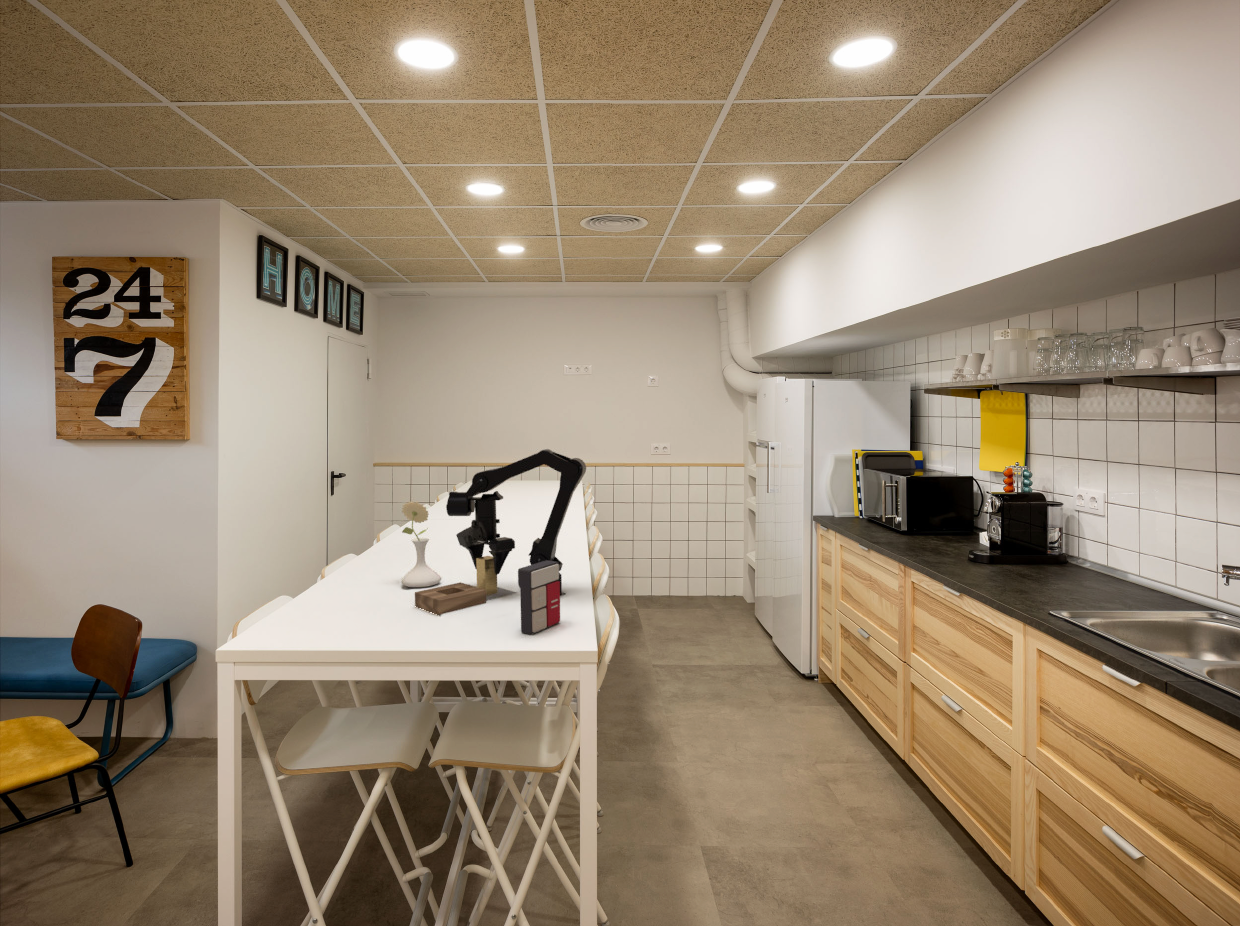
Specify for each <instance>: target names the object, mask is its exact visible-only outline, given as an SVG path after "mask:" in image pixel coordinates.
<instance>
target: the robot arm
mask: <svg viewBox="0 0 1240 926" xmlns="http://www.w3.org/2000/svg"><path fill="white" fill-rule="evenodd" d="M544 465H545V466H547V467H549V468H551V469H552V470H555V471H556V472H558V473H560V477H559V489H558V492H557V495H556V498H555V500H554V503H553V506H552V508H551V512H550V514H549V517H548V520H547V523H546V525H545V526H546V527H545V528H544V532H543V533H542V536H541V538H540V537H537V538H536V539H535V540H534V541H533V542H532V546H531V551H530V552H529V554H528V556H529V563H530V565H533V564H536V563H539V562H543V561H546V560H548V561H555V562H558V563H559V582H560V597H562V596H565V595H566V594H567V593H566V592H563V590H562V589H563V588H562V584H563V583H562V573H560V572H561V570H562V568H563V565H564V563H563V562H562V561H560V559H559V558H558V557H557V556H556V552H557V545H558V544H557V541H558V537H559V534H560V531H561V529H562V525H563V523H564V521H565V517H566V515H567V512H568V508H569V506H570V504H571V501H572V498H573V495H574V492H575V490H576V489H577V487H578V486H579V484H580V483H581V481H582V479H583V477H584V476H585V474H586V471H587V465H586V463H585V462H584V460H583V459H581V458H579V457H574V458H573V457H572V458H571V457H569V456H567V455H563V454H560V453H558V452H555V451H552V450H551V449H549V448H546V449H542V450H540V451H539V452H537V453H534V454H532V455H529V456H527V457H524V458H522V459H519V460H517V461H514V462H512V463H510V464H508V465H504V466H502V467H496V468H495V467H494V468H490V469H488V470H487V469H486V470H483V471H479V472H476V473H475V474H474V475H473V477H472V480H471V485H470V487H468V489H467V490H466V491H465V492H464V491H460V492H459V491H449V493H448V498H447V501H446V506H445V508H446V513H447V515H448V517H470V516H471V514H472V513H474V516H475V517H474V519H472V520H471V525H470V526H469V527H466V528H465V529H463V530H461V531H459V532H458V533H457V534H455V535H456V538H457V541H458V544H459V546H461V547H463V548H465V549H466V550H467V551H468V552H469V554H470V557H471V560H472V563H473V566H474V568H475V570H477V566H476V558H479V557H483V555H484V554H483V553H484V549H485V545H487V546H488V548H489V550H488V552H489V553H490V556H491V555H492V557H493V561H494V570H495V574H497V575H499V574H500V572H501V570H502V568H503V566H504V564H505V562H506V560H507V558H508V556H509V554H510V552H512V551H513V550H514V549H516V541H515V540H514V539H513V538H511V537H506V536H503V537H501V534H500V533H497V529H498V528H497V524H500V518H497V501H501V500H503V499H504V496H503V495H502V494H500V493H499V491H498V490H495V491H494V492H493V493H488V492H490V491H492V490H494V489H496V488H497V487H499V486H500V485H502V484H504V483H505V482H507V481H508V480H509V479H511V478H514V477H517V476H519V475H521V474H524V473H526V472H529V471H531V470H534V469H536V468H539V467H541V466H544ZM480 494H482V495H481V496H477V495H480Z"/></svg>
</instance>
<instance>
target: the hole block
mask: <svg viewBox="0 0 1240 926" xmlns="http://www.w3.org/2000/svg"><path fill="white" fill-rule="evenodd" d="M414 604H415V606H416V607H418V608H417V609H419V608H421V609H424V610H426V611H425V612H427V611H429V612H428V613H430V612H432V613H431V614H433V613H434V614H433V615H435V614H437V615H436V616H438V615H443V614H447V613H451V612H456V611H461V610H463V609H467V608H471V607H476V606H480V605H484V604H487V601H486V590H485V589H482V588H478V587H477V586H474V585H471V584H467V583H464V582H456V583H452V584H447V585H443V586H437V587H433V588H428V589H423V590H419V591H415V592H414ZM415 606H414V607H415ZM416 607H415V608H416ZM421 609H420V610H421ZM424 610H423V611H424Z"/></svg>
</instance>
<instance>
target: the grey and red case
mask: <svg viewBox="0 0 1240 926" xmlns="http://www.w3.org/2000/svg"><path fill="white" fill-rule="evenodd" d="M559 573H560V571H559V563H558V562H555V561H548V560H546V561H543V562H539V563H536V564H533V565H531V564H530V565H526V566H522V567H519V568H518V570H517V582H518V583H517V584H518V587H519V589H520V591H519V593H520V632H521V633H522V634H527V635H534V634H536V633H538V632H541V631H543V630H546V629H548V628H550V627H552V626H555V625H557V624H559V623H560V621H561V596H560V582H559Z"/></svg>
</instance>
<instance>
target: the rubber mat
mask: <svg viewBox="0 0 1240 926" xmlns="http://www.w3.org/2000/svg"><path fill="white" fill-rule="evenodd" d="M515 594H518V592H517V591H513V590H509V589H506V588H503V587H499V586H497V593H495V594H491V595H487V596H486V602H487V601H489V600H494V599H497V598H498V599H499V598H503V597H506V596H511V595H515Z"/></svg>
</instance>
